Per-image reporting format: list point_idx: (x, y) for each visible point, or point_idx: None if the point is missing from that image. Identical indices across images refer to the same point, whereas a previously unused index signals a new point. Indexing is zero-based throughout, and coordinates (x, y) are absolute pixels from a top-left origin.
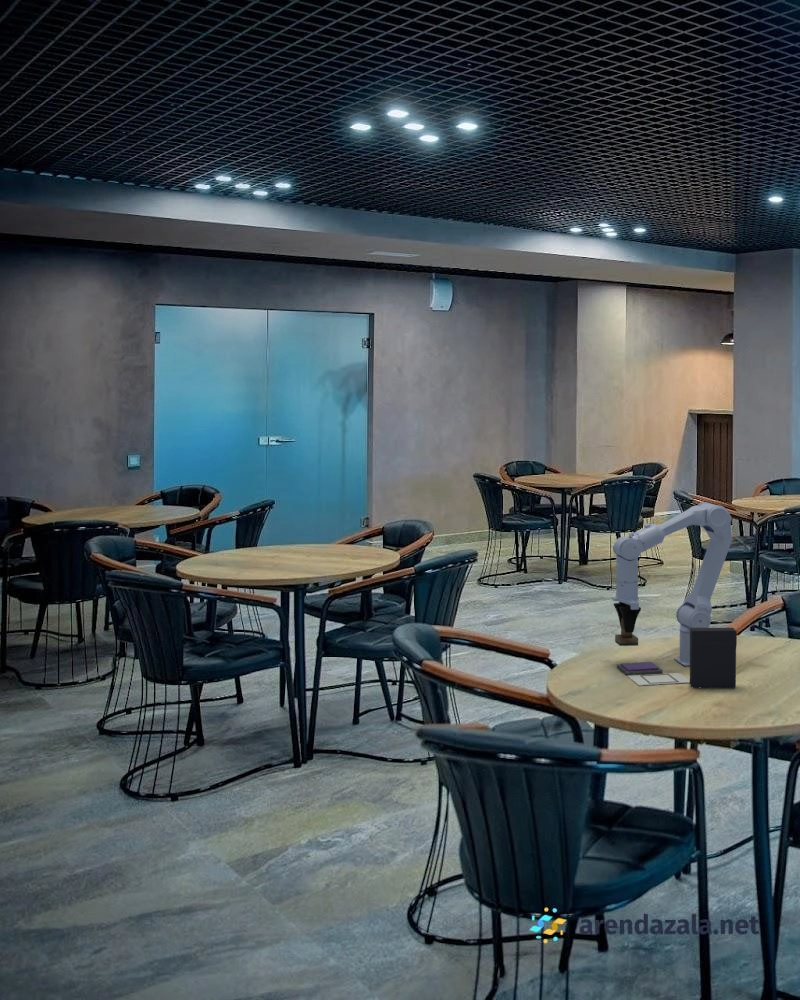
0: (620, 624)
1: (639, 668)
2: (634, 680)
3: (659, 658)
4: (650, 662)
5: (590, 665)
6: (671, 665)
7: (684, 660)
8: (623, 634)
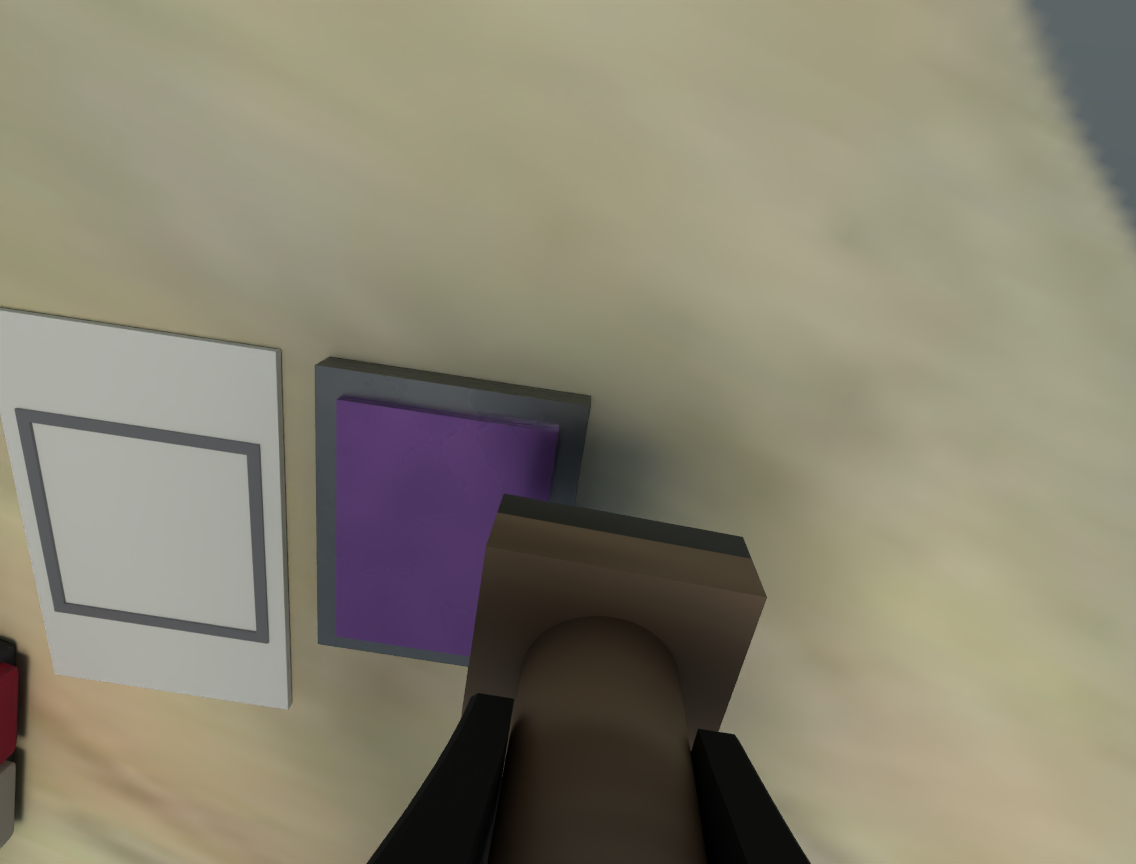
0: (742, 793)
1: (342, 500)
2: (117, 337)
3: None
4: None
5: (773, 196)
6: None
7: None
8: (555, 653)
